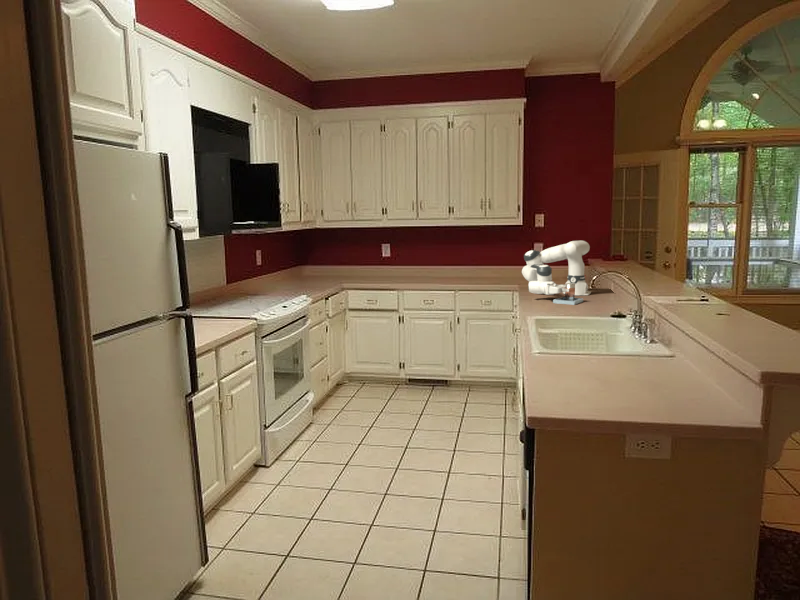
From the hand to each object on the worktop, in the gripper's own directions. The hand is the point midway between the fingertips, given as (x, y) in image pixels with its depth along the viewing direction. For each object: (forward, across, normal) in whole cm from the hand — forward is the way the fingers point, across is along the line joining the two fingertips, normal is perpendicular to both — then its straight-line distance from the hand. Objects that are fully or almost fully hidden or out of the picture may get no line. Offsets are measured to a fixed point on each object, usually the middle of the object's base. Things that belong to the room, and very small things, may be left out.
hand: (571, 289), depth 376 cm
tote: (-1, +3, -9) cm, 9 cm away
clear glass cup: (-1, 0, -7) cm, 7 cm away
